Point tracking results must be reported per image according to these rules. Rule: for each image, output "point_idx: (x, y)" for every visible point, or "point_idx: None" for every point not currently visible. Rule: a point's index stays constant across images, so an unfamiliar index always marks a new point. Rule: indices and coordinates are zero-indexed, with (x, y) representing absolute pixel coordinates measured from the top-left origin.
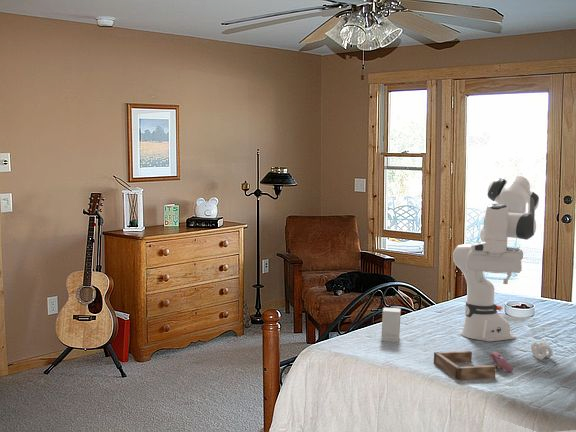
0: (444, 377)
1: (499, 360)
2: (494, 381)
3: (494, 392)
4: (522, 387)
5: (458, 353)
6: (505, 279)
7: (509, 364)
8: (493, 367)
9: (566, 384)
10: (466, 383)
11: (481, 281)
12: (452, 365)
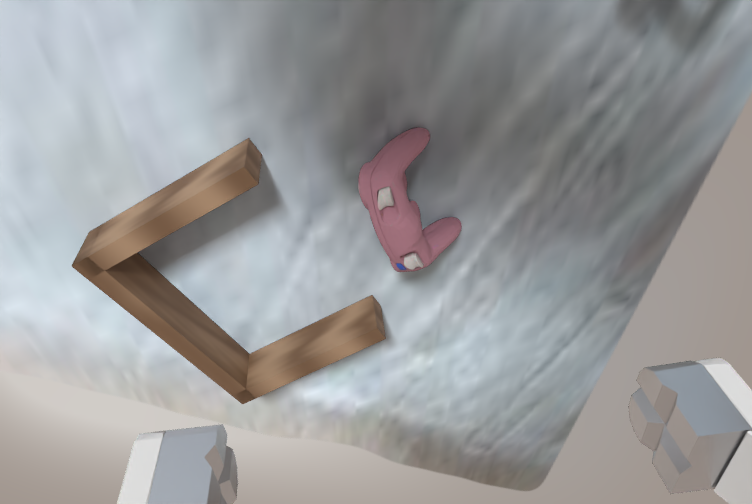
0: None
1: (404, 271)
2: None
3: (376, 412)
4: (468, 352)
5: (192, 219)
6: (699, 490)
7: (448, 244)
8: (376, 340)
9: (637, 275)
10: None
11: (232, 483)
12: (214, 379)
